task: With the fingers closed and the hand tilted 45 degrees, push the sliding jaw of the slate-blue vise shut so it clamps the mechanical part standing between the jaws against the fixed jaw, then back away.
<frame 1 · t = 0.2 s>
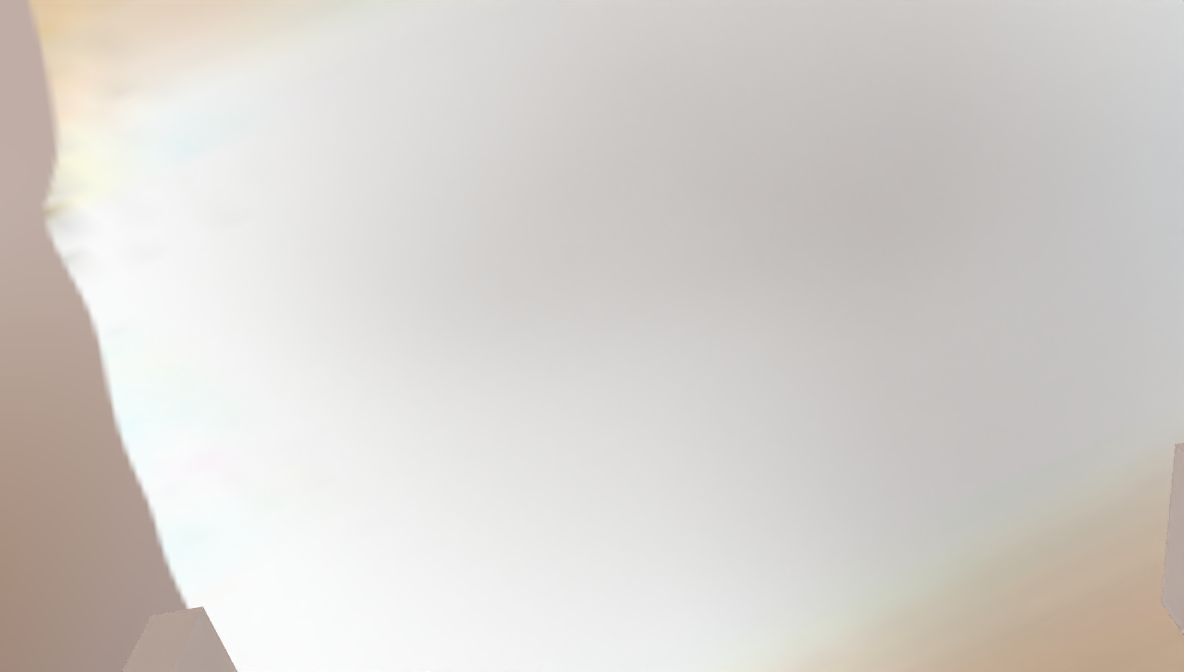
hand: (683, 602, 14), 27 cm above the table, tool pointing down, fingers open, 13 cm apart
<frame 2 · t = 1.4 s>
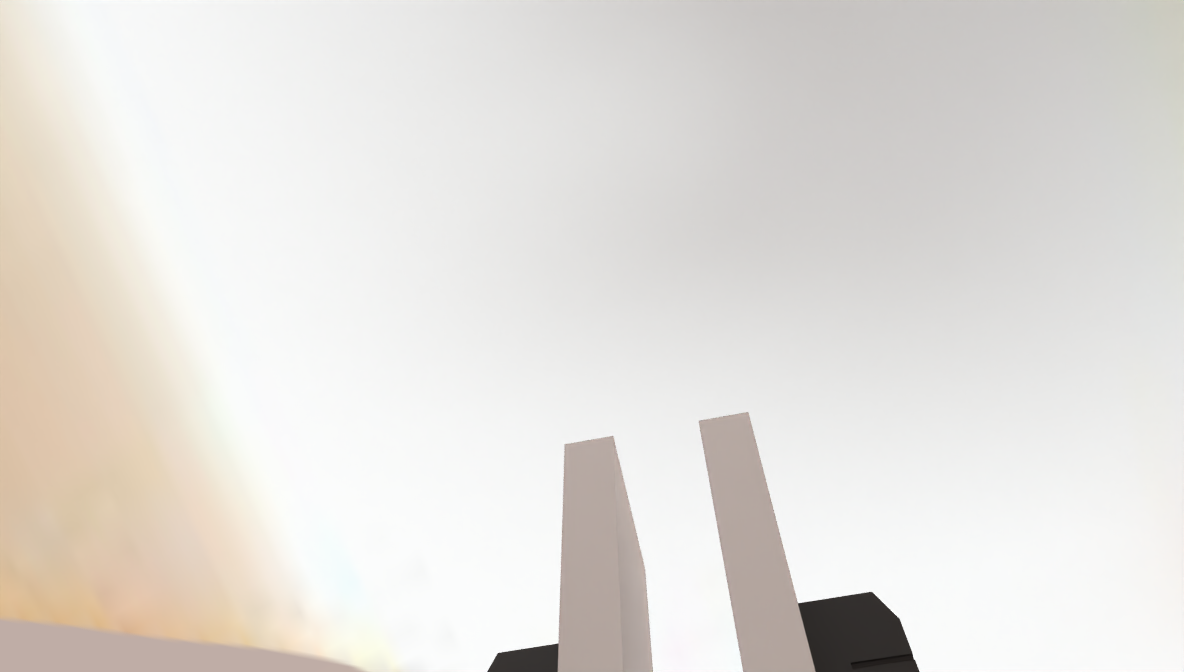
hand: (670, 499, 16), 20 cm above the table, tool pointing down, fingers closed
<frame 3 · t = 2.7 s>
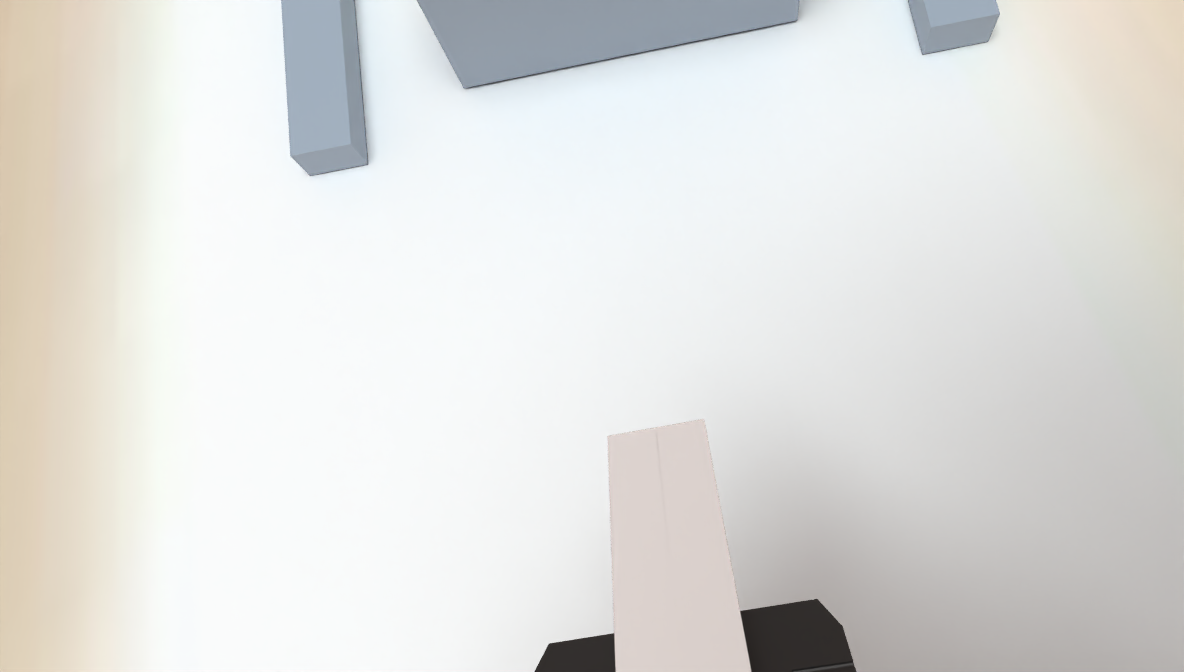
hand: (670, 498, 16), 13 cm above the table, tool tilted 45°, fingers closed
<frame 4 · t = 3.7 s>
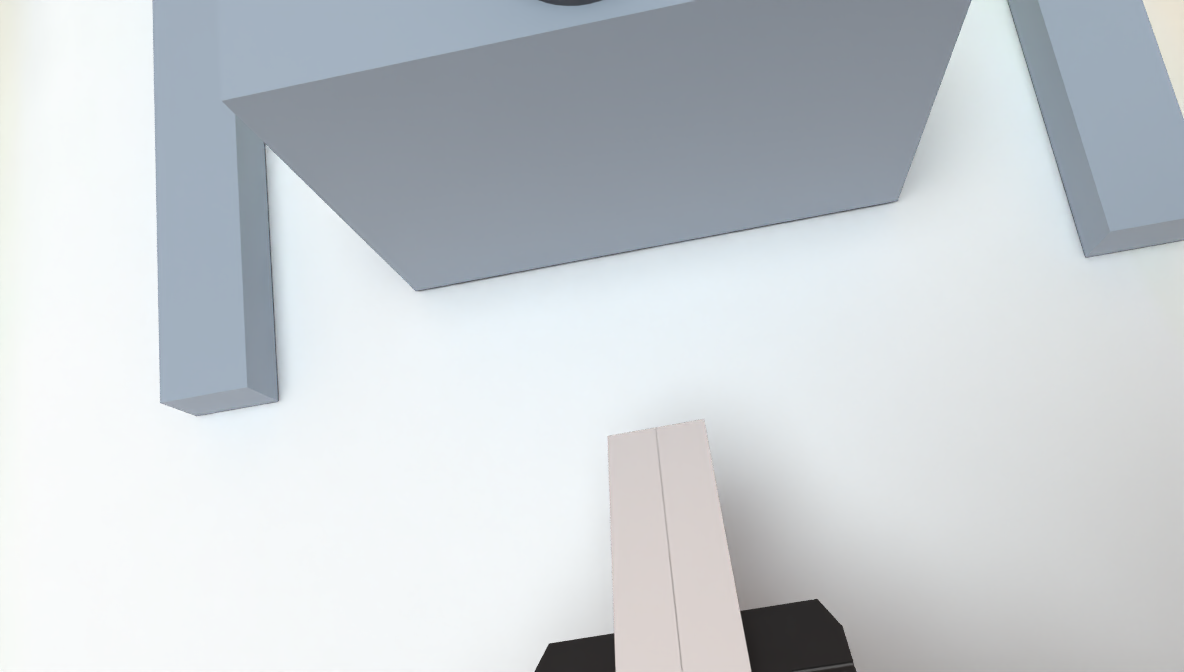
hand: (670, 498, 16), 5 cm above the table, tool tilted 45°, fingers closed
slide jaw: (610, 65, 18), point 5 cm above the table, slide at 0.0 cm
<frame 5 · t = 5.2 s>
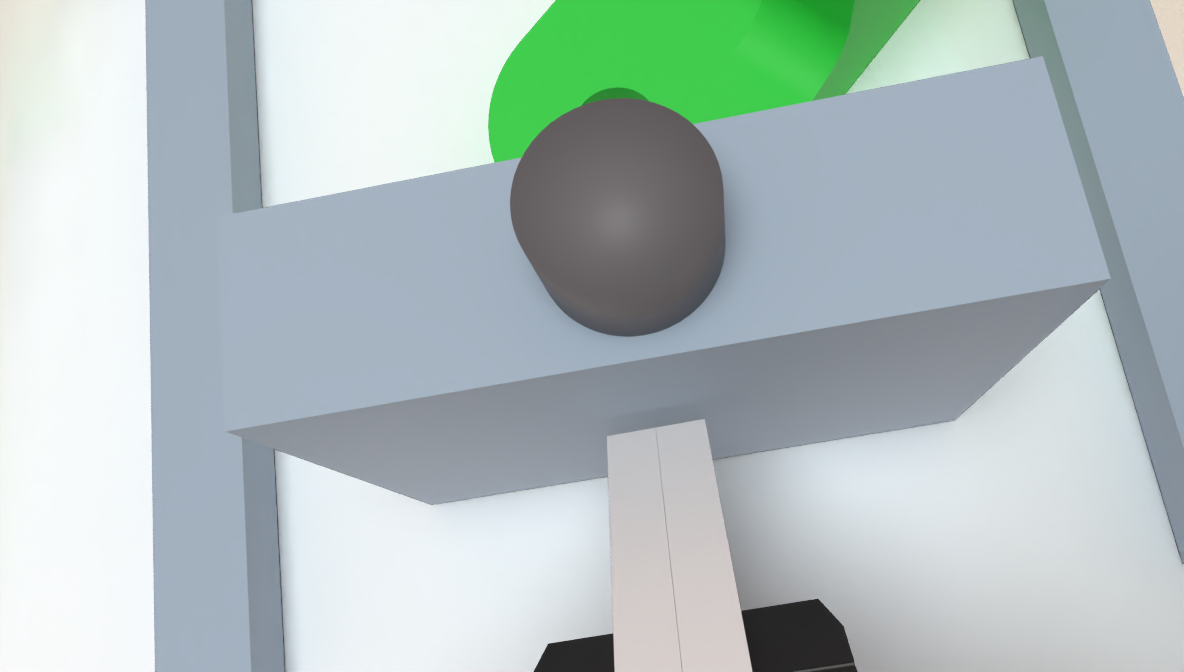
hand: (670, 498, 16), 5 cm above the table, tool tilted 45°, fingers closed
vise: (625, 100, 23), on the table
mechanical part: (715, 61, 24), on the table
slide jaw: (653, 324, 16), point 5 cm above the table, slide at 1.4 cm, touching gripper
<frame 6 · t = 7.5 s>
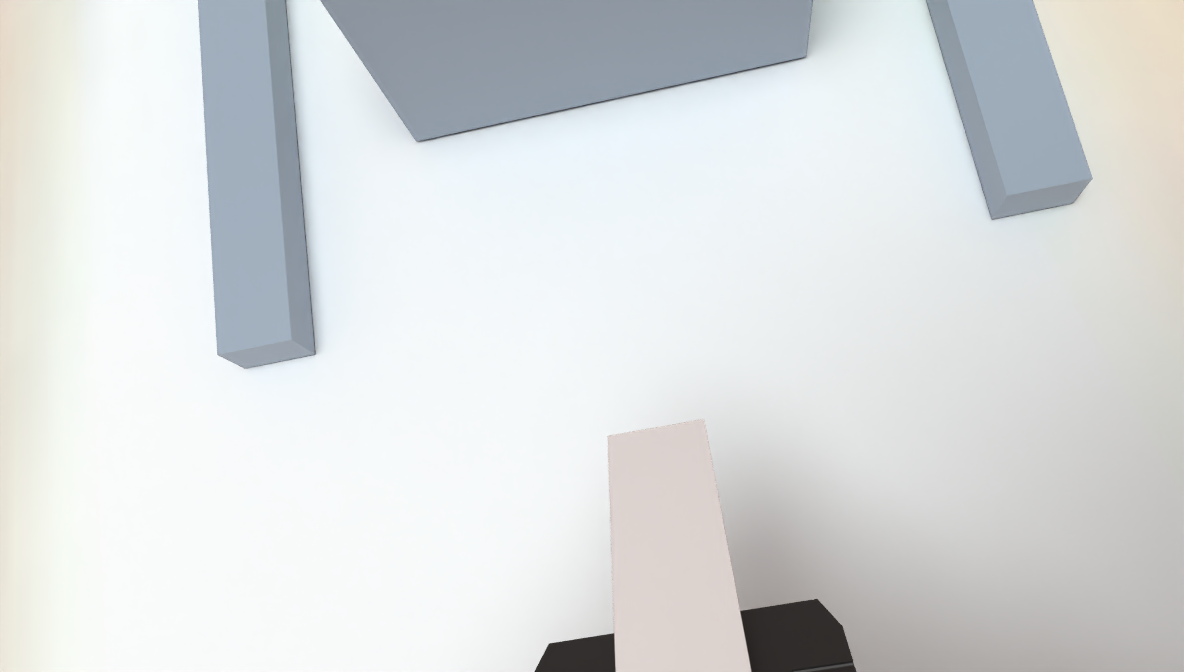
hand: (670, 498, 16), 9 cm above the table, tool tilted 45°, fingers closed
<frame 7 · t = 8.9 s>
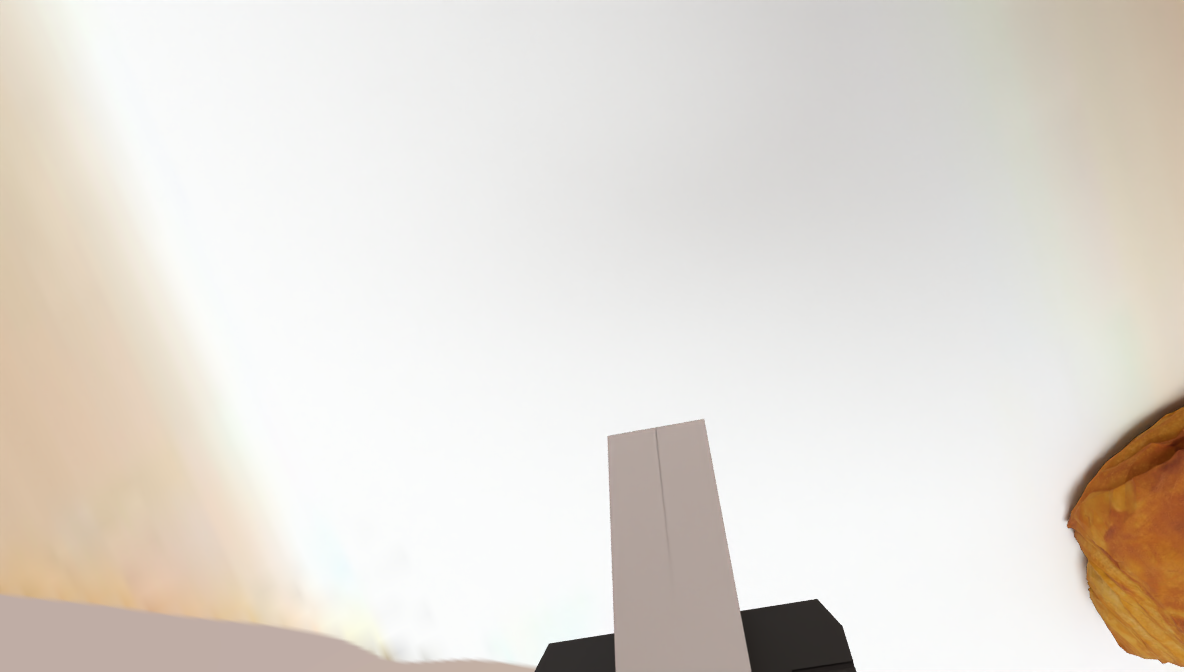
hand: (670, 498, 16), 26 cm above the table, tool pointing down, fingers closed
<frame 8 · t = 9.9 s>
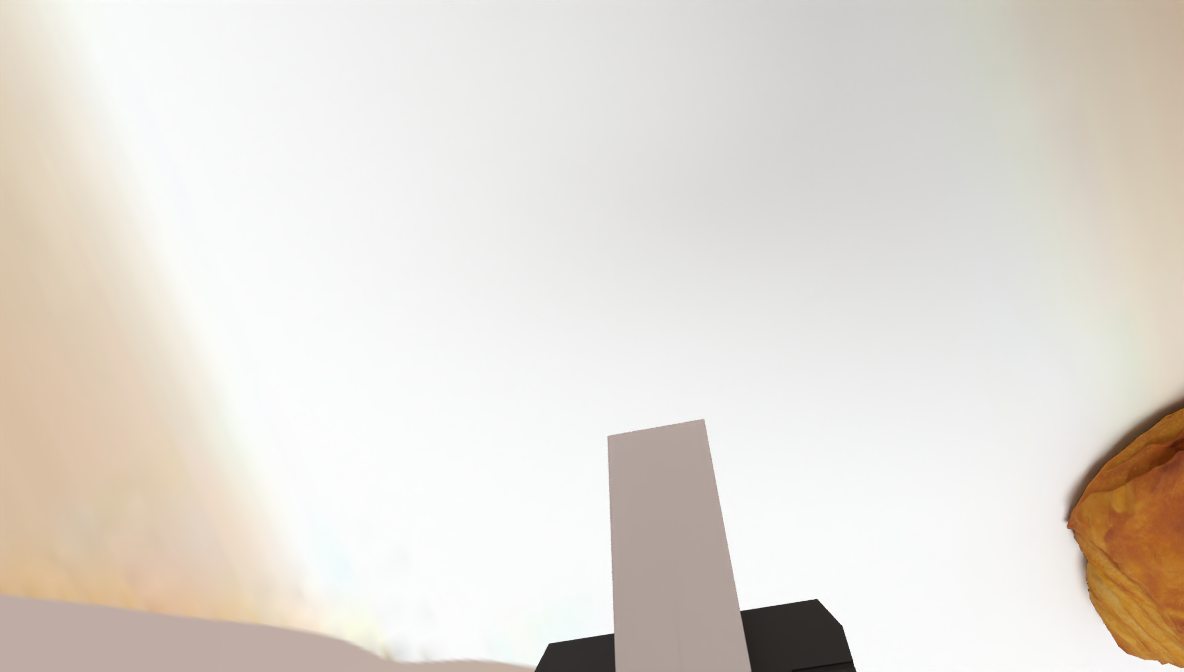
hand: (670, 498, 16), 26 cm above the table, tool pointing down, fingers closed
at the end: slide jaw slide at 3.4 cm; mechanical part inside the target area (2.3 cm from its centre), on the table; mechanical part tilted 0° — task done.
